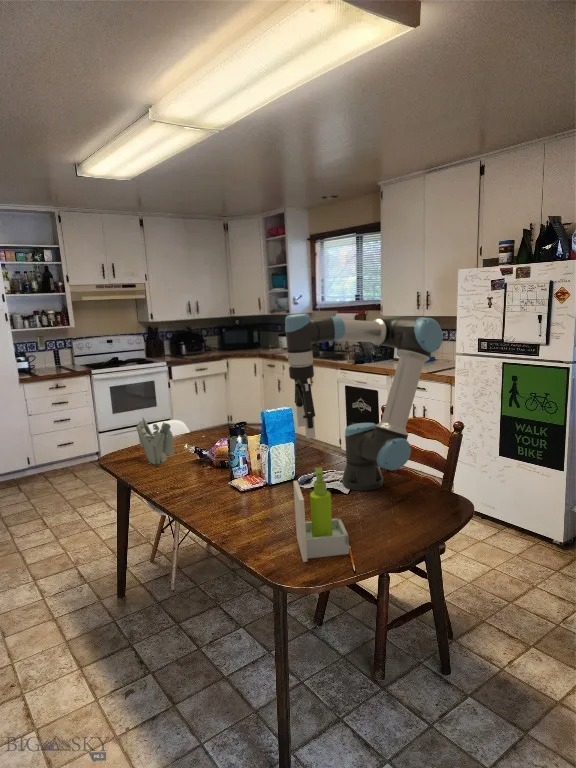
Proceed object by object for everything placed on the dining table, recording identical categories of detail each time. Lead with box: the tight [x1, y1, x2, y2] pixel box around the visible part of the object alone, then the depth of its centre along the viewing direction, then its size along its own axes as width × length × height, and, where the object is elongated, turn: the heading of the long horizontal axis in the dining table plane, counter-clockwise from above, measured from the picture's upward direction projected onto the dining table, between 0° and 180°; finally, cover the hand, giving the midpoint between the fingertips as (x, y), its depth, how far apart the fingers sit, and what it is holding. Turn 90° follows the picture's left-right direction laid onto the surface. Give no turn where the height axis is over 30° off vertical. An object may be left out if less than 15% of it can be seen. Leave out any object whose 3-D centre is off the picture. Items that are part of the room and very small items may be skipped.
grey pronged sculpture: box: [135, 417, 175, 465], centre depth 224 cm, size 28×7×20 cm, turn 49°
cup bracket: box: [292, 480, 350, 563], centre depth 139 cm, size 13×14×18 cm
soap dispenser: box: [309, 466, 333, 538], centre depth 139 cm, size 6×7×20 cm
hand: (306, 431), depth 153 cm, fingers open, 13 cm apart
